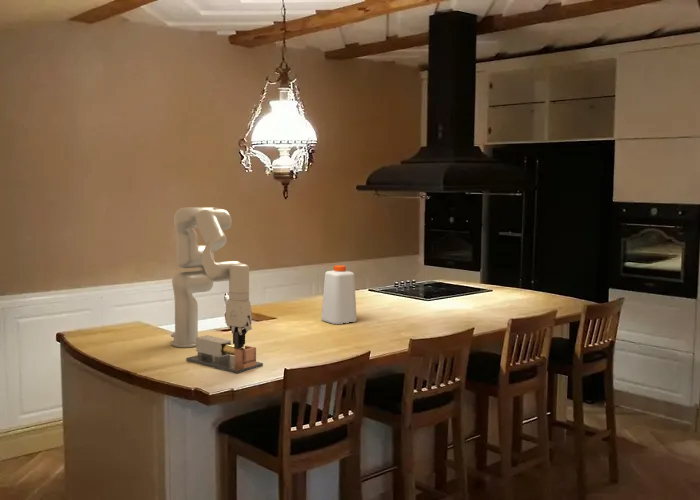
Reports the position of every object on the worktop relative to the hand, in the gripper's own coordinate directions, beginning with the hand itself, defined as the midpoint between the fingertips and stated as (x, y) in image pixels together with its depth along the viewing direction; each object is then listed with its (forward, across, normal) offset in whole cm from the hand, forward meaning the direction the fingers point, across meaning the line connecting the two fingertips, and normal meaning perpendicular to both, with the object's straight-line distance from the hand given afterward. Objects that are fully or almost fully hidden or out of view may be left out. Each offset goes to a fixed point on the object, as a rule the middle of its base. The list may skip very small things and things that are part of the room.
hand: (239, 343), depth 280 cm
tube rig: (+9, -8, 0) cm, 12 cm away
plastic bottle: (+9, -24, +93) cm, 97 cm away
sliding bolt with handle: (+5, -7, 0) cm, 9 cm away
